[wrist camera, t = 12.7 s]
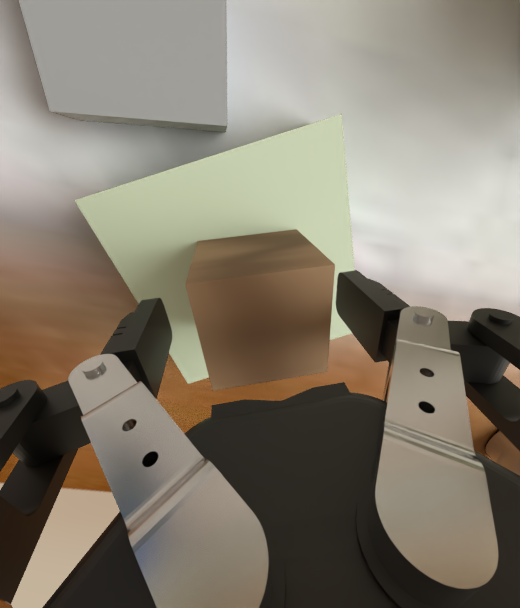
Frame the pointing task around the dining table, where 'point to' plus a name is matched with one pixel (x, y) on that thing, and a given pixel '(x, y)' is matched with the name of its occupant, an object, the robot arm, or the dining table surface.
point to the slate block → (132, 60)
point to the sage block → (225, 218)
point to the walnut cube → (261, 307)
